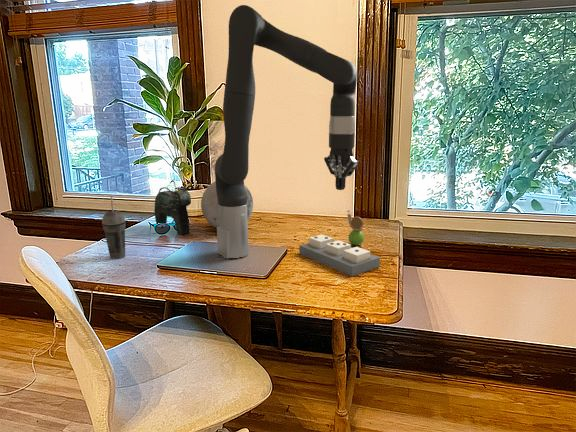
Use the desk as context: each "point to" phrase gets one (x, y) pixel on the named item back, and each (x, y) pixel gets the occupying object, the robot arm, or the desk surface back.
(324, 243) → the tile two dots
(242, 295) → the desk surface
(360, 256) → the tile one dot
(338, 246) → the tile three dots
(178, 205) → the dark animal figurine
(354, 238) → the snail figurine
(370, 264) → the socket board
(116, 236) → the beverage cup
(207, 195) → the moon model
